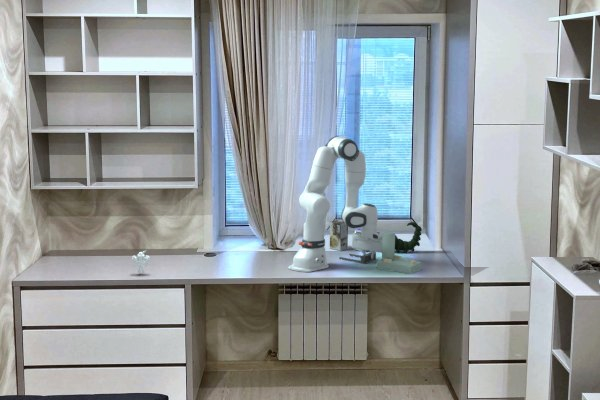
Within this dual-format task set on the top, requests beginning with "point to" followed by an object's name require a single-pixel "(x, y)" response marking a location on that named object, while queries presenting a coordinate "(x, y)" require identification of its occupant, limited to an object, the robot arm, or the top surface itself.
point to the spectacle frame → (364, 258)
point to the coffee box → (338, 235)
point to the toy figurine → (411, 244)
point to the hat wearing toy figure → (141, 262)
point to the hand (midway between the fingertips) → (368, 258)
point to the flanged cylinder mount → (395, 257)
